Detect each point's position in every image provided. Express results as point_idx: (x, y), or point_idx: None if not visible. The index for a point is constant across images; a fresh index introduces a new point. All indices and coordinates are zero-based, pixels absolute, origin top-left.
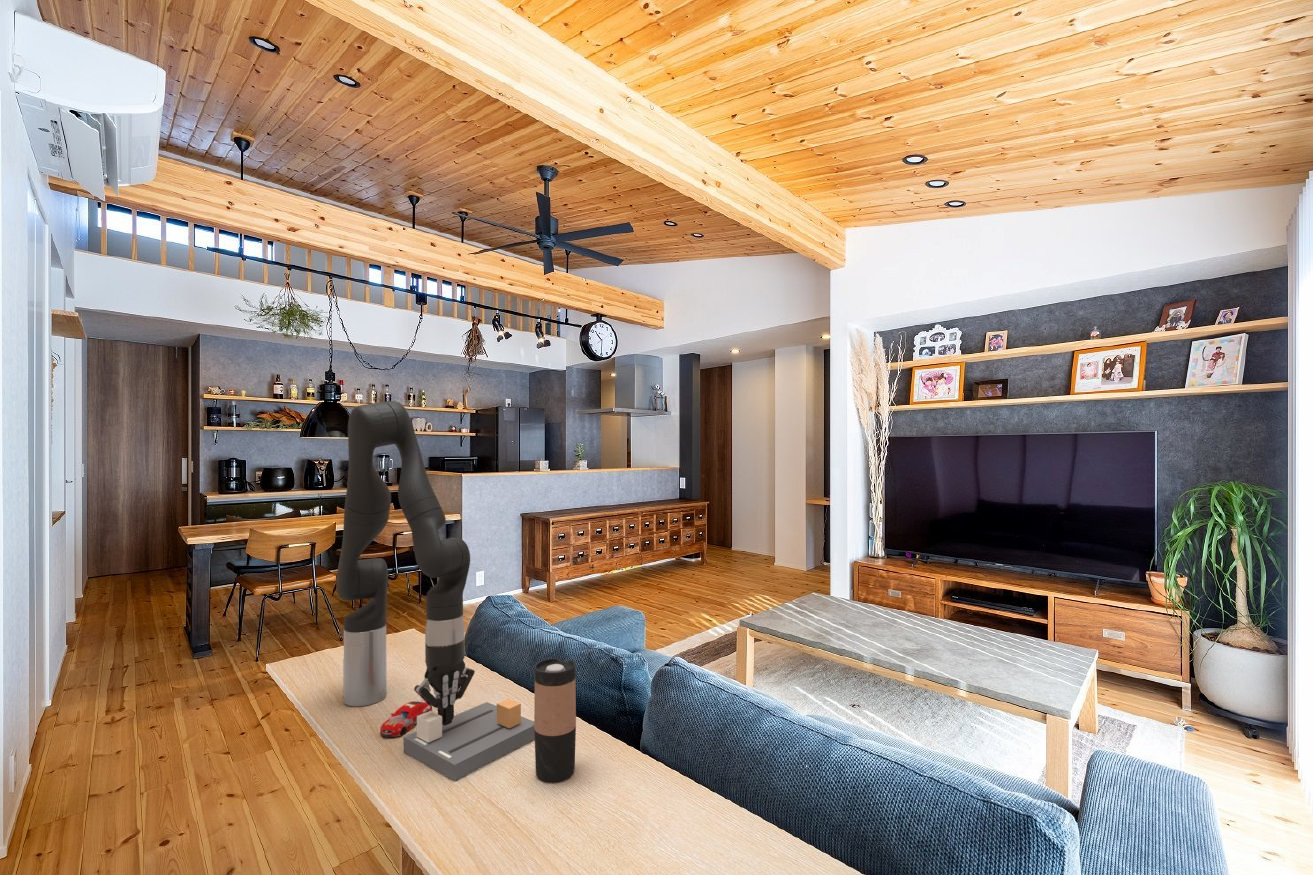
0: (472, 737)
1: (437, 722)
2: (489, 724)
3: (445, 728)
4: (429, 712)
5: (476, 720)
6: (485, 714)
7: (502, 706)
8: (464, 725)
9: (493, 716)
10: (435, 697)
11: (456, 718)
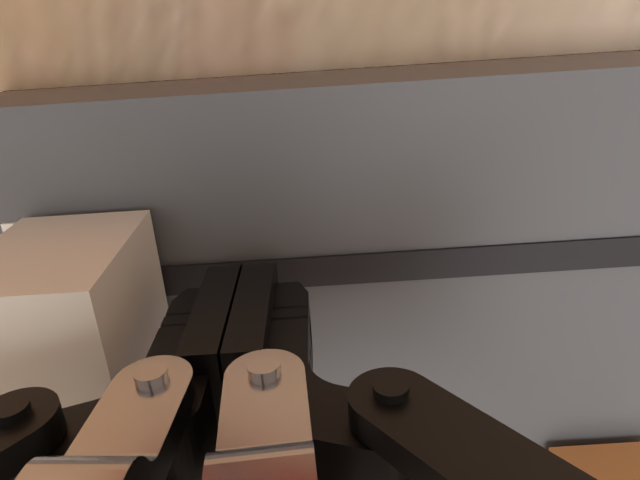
0: None
1: None
2: (516, 410)
3: (270, 240)
4: (65, 317)
5: (507, 299)
6: (622, 264)
7: None
8: (397, 302)
9: (625, 336)
10: (75, 442)
11: (436, 144)
